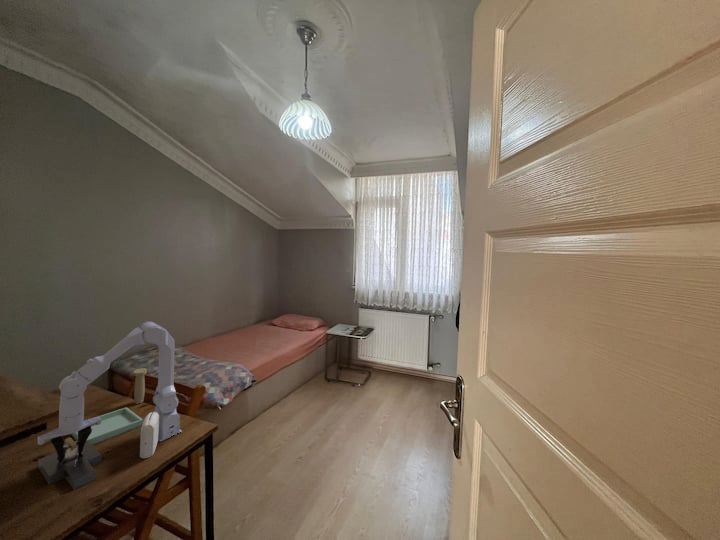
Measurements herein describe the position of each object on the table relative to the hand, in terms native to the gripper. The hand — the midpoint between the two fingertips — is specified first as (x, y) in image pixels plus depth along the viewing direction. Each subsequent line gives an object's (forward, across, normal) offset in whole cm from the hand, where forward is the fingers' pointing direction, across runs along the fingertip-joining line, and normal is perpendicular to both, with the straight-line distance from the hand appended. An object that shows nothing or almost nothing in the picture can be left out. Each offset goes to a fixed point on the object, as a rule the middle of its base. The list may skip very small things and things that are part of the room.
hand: (70, 455), depth 94 cm
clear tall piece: (+3, 0, 0) cm, 3 cm away
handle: (+3, -30, -29) cm, 42 cm away
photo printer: (+3, -18, +11) cm, 21 cm away
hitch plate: (+3, 0, +4) cm, 5 cm away
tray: (+3, -14, -15) cm, 21 cm away
